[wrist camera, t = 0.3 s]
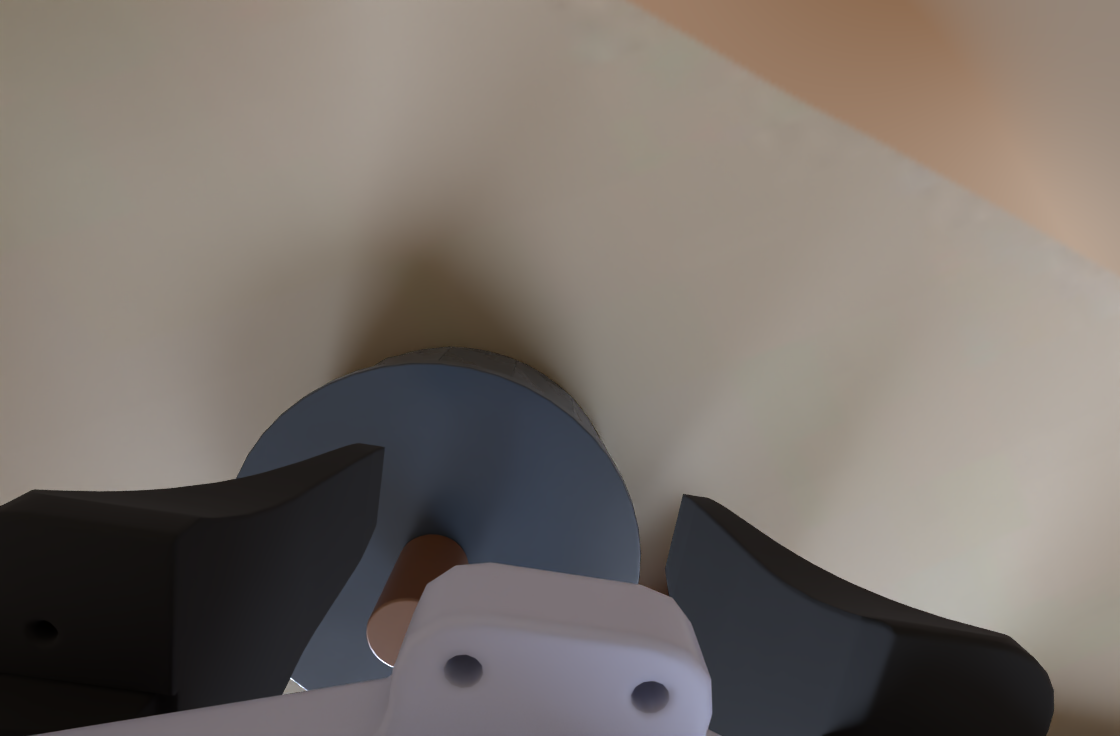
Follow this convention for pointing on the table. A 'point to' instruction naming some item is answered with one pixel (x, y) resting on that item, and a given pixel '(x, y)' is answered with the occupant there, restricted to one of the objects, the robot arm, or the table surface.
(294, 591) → the robot arm
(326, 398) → the lid
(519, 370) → the pan
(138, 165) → the table surface
